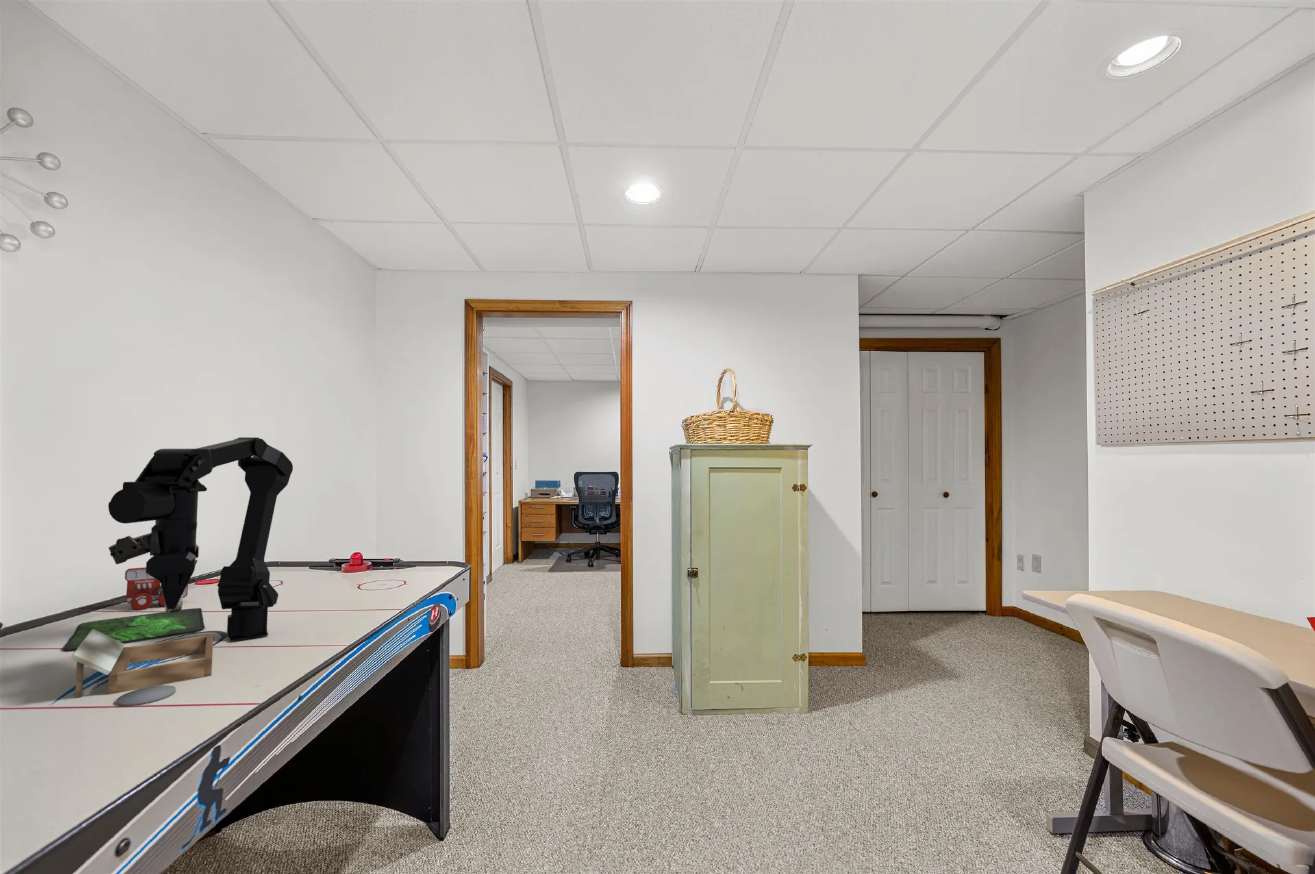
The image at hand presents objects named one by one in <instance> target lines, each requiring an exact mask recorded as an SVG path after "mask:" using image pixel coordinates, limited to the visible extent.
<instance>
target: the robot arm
mask: <svg viewBox="0 0 1315 874" xmlns="http://www.w3.org/2000/svg"><path fill="white" fill-rule="evenodd" d="M233 462H237V466H238V467H239V468H240V469H241V470H242V471H243V472H244V482H245V483H246V486H247V489H248V490H249V499H248V503H247V507H246V512H245V517H244V520H243V526H242V529H241V530H242V531H241V535H240V538H239V543H238V548H237V552H236V557H235V559H234V560H233V561H232V563H231V564H230V565H228V566H225V565H224V566H223V567H222V568H221V570H220V577H219V580H218V583H217V585H216V587H217V595H218V599H219V602H220V606H221V609H222V610H231V612H230V614H228V615H227V620H226V621H227V623H226V625H227V626H226V637H227V638H229V642H238V641H244V640H251V639H255V638H263V637H267V636H269V631H268V616H269V615H268V612H269V608H273V607H274V606H275V605H277V601H278V599H279V598H278V597H279V593H278V592H277V590H276V589H275V588H274V587H273V585H272V584H271V583H270V579H271V578H270V577H271V573H270V570H269V568H268V566H267V564H266V562H265V557H266V552H267V547H268V541H269V537H270V532H271V528H272V523H273V517H274V513H275V507H276V503H277V497H278V496H279V494H281V492H282V491H283V490H284V489H285V488H286V487H287V486H288V485H289V484H288V483H290V482H289V481H290V479H291V475H292V473H293V470H294V466H293V463H292V461H291V460H290V459H289V458H288V457H287V455H286V454H285V453H284V452H283V451H281V450H279V449H277V448H275V447H273V446H272V445H269V444H268V442H266V441H265V439H263V438H260V437H255V436H254V437H253V436H252V437H251V436H250V437H248V436H247V437H245V436H244V437H243V436H240V437H237V438H234V439H232V440H228V441H224V442H218V443H213V444H211V445H206V446H201V447H196V448H160V449H157V450H155V452H153V456H152V457H151V458H150V460H149V461H148V462H147V464H146V465H145V467H144V468H143V470H142V471H141V472H140V474H139V475H138V476H137V478H136V480H135V481H123V483H122V489H120V490H119V491H117V492H115V493H114V494H113V496H112V497H111V498H110V501H109V502H108V505H107V506H108V508H107V509H108V512H109V515H110V516H111V518H112V519H113V520H114V521H116V523H117V522H118V523H120V524H133V523H142V522H151V521H153V522H154V521H155V523H154V525H153V526H151V530H150V532H149V533H146V534H142V535H139V536H136V537H132V536H131V535H126V536H125V537H122V538H118V539H116V541H115V544H112V545H110V546H108V550H109V552H110V553H109V556H111V557H112V559H113V561H114V563H115V565H119V564H124V563H125V562H127V561H129V560H131V559H134V558H137V557H140V556H143V555H146V554H149V556H151V557H150V558H149V559H148V560H147V561H146V564H145V567H146V574H149V575H150V576H152V577H154V578H156V579H157V580H159V581H160V587H161V588H162V591H163V595H164V599H165V603H166V607H167V609H168V610H169V609H175V608H176V606H177V604H178V602H179V600H180V598H181V596H182V594H183V592H184V590H185V588H186V586H187V584H188V585H189V582H190V580H191V577H192V575H193V573H194V572H195V570H196V565H197V563H198V559H197V558H199V554H200V546H199V545H197V528H198V509H199V508H198V504H199V503H198V502H199V492H201V493H202V492H206V491H207V490H208V488H207V487H206V486H205V484H202V483H201V482H200V481H199V480H201V479H202V478H204V477H206V476H207V475H209V474H211V473H212V471H213V469H214V468H217V467H219V466H222V465H227V464H230V463H233Z"/></svg>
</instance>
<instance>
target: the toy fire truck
mask: <svg viewBox="0 0 1315 874" xmlns="http://www.w3.org/2000/svg"><path fill="white" fill-rule="evenodd" d="M124 579H125V580H126V595H125V602H126V603H127V604H129V605H130V606H131V608H132V609H133V610H135V611H143V610H146V609H148V608H149V607H150V606H151V605H152V604H153V602H158V604H159V605H160V606H162V607H163V608H164V607H165V602H164V596H163V595H162V594H161V593H159V591H160V590H161V589H162V587H161V583H160V581H159V580H157V579H156V578H154V577H152V576H150V575H149V574H146V566H144V567H132V568H131V567H130V568H127V569H126V570H125V572H124ZM188 591H189V583H188V584H187V586H186V588H185V590H184V592H183V594H182V598H183V599H184V598H186V597H187V596H188V594H189V593H188Z"/></svg>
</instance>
